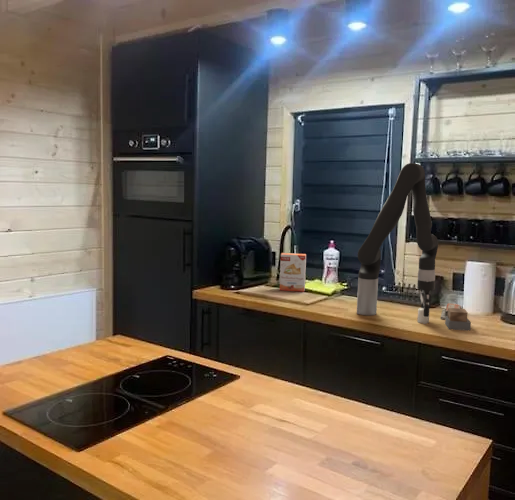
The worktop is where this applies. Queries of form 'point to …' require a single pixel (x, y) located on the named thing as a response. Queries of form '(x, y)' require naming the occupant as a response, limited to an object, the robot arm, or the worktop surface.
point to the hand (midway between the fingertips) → (424, 314)
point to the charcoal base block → (457, 324)
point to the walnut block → (457, 314)
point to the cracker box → (292, 272)
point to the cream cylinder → (422, 316)
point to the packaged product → (445, 311)
